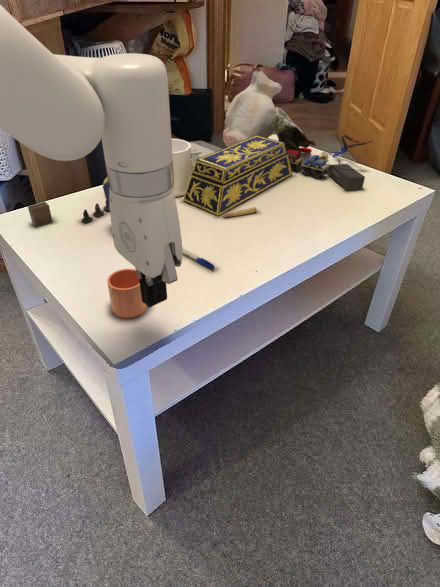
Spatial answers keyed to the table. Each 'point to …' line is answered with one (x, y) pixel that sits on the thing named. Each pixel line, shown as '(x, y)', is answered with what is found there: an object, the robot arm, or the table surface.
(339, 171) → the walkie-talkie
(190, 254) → the ballpoint pen
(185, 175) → the mug
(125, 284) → the cup
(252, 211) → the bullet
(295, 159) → the toy train
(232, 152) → the decorative box
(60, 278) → the table surface
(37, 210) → the stop block
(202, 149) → the skate ramp
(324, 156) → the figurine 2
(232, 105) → the crumpled bag
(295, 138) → the rock
